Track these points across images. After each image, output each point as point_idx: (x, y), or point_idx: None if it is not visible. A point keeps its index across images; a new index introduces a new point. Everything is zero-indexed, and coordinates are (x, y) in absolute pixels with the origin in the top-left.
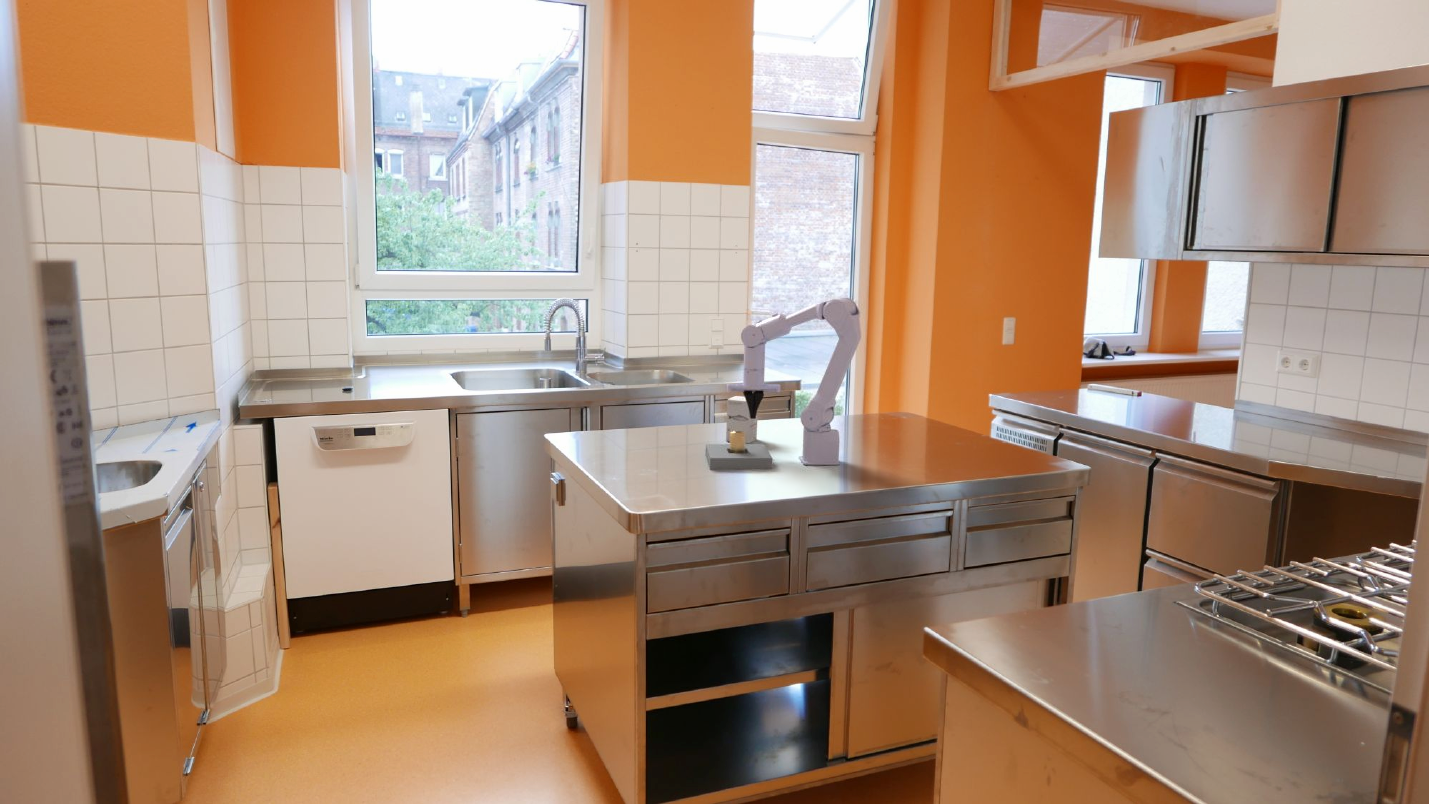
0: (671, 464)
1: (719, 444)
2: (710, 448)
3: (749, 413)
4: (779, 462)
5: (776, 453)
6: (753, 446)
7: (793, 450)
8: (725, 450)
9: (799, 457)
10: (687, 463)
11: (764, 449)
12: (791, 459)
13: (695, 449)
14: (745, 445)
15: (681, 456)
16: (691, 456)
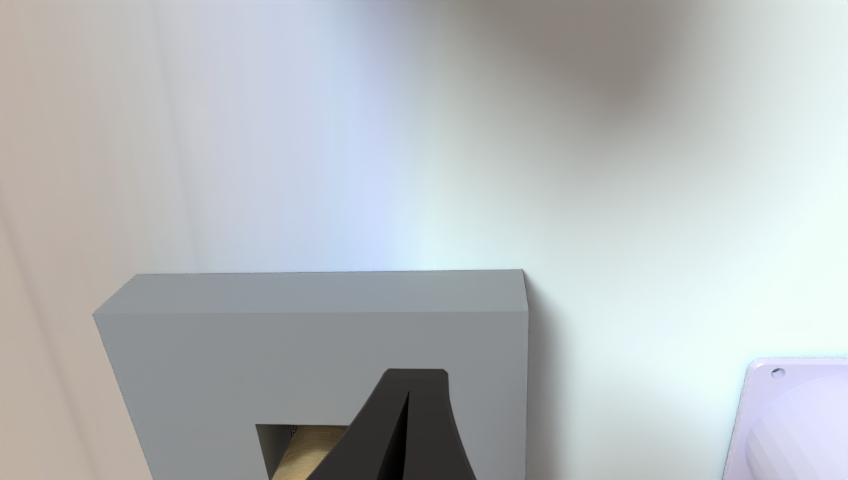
0: (17, 453)
1: (191, 322)
2: (152, 420)
3: (371, 395)
4: (590, 434)
5: (628, 226)
6: None
7: (805, 124)
8: (253, 465)
9: (747, 392)
10: (87, 440)
11: (507, 450)
12: (688, 376)
13: (30, 120)
14: (381, 350)
15: (7, 308)
16: (63, 308)
